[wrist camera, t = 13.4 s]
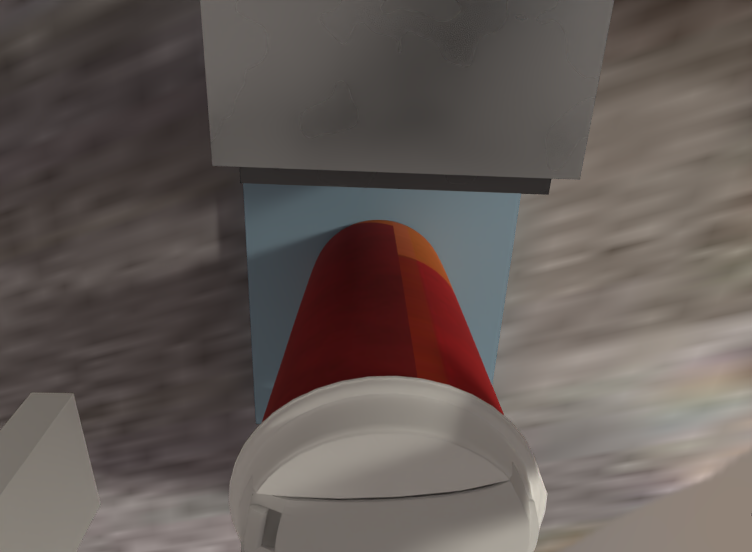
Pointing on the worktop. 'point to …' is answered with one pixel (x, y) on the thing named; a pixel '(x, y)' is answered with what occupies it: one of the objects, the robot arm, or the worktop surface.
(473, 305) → the base
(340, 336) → the coffee cup
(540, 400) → the worktop surface
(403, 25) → the block
